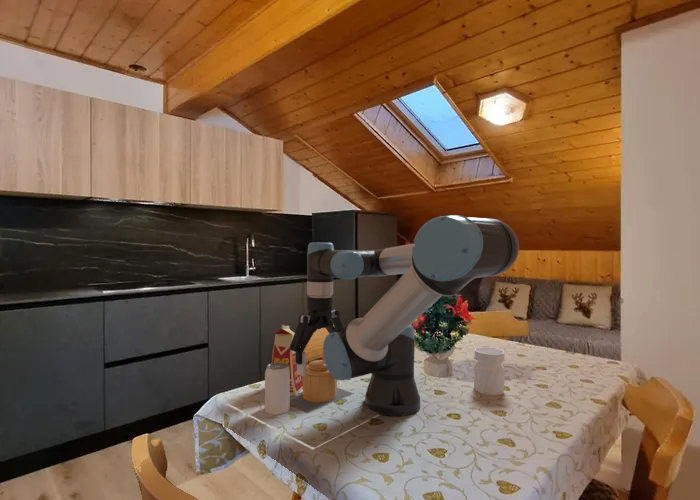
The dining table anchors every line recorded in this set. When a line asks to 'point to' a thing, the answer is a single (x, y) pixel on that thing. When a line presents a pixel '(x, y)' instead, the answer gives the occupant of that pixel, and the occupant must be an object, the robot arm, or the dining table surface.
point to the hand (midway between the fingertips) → (319, 369)
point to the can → (277, 388)
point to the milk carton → (287, 357)
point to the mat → (310, 406)
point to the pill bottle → (489, 371)
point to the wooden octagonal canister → (319, 383)
